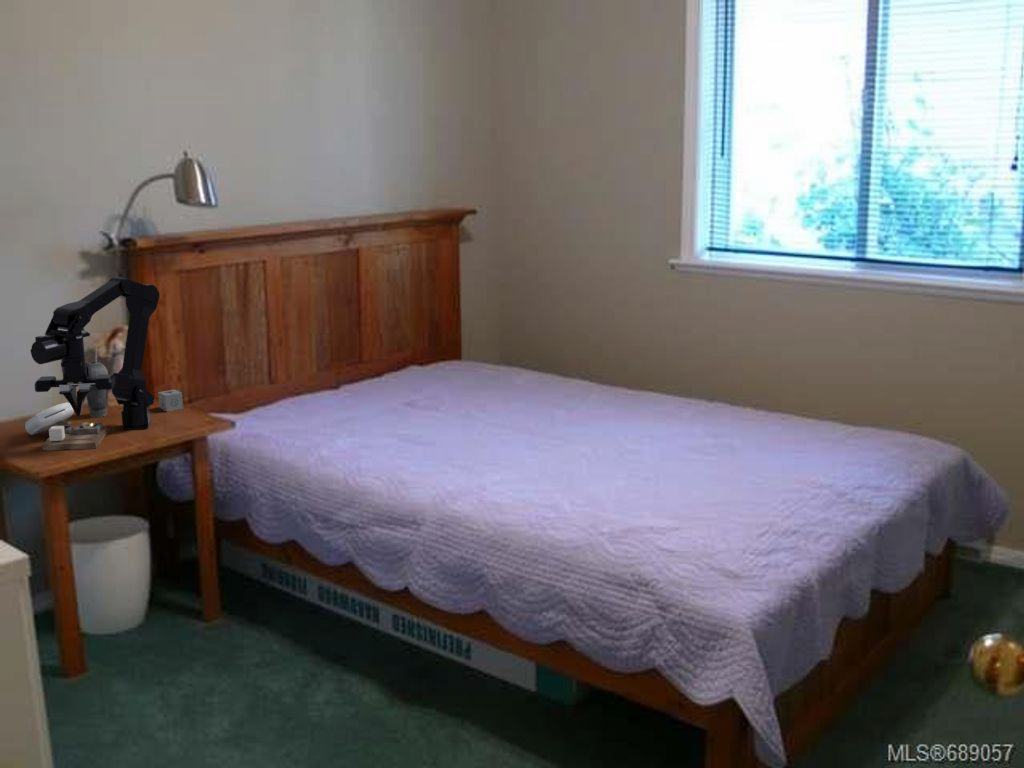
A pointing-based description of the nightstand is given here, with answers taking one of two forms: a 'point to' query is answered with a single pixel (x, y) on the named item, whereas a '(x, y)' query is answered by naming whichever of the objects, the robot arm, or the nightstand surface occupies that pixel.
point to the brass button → (88, 425)
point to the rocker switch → (64, 423)
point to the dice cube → (170, 400)
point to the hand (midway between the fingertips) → (79, 415)
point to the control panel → (78, 438)
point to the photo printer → (49, 418)
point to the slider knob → (57, 433)
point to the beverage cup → (97, 391)
